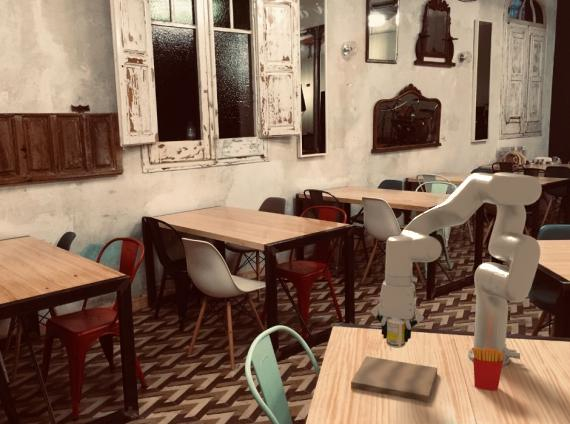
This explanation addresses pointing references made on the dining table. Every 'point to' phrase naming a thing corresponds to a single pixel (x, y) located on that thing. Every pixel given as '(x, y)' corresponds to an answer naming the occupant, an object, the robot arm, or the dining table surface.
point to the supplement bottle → (396, 332)
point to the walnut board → (395, 378)
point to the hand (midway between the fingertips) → (396, 338)
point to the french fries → (487, 368)
